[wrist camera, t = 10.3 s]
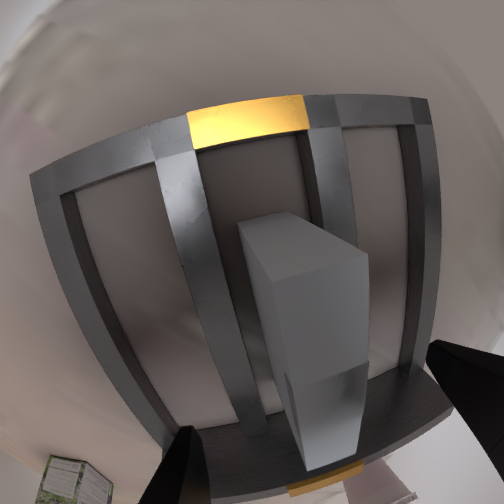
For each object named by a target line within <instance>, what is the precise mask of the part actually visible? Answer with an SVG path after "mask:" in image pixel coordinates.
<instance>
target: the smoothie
mask: <svg viewBox="0 0 504 504" xmlns="http://www.w3.org/2000/svg"><path fill="white" fill-rule="evenodd" d="M342 481H343V484H344V488H345V491H346V494H347V498H348V502H349V504H414V503H416V502H417V501H418V499H419V498H418V497H417V495H416V492H413V493H411V492H410V491H409V490H408V489H407V487H406V486H405V485H404V484H403V482H402V481H401V480H400V479H399V478H398V477H397V476H396V475H395V473H394V472H393V471H392V470H391V469H390V467H389V466H388V465H387V464H386V463H385V462H384V460H383V459H382V458H379V459H377V460H375V461H373V462H371V463H369V464H367V465H365V466H363V469H362V472H361V473H359V474H357V475H354V476H352V477H350V478H347V479H345V480H342Z"/></svg>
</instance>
